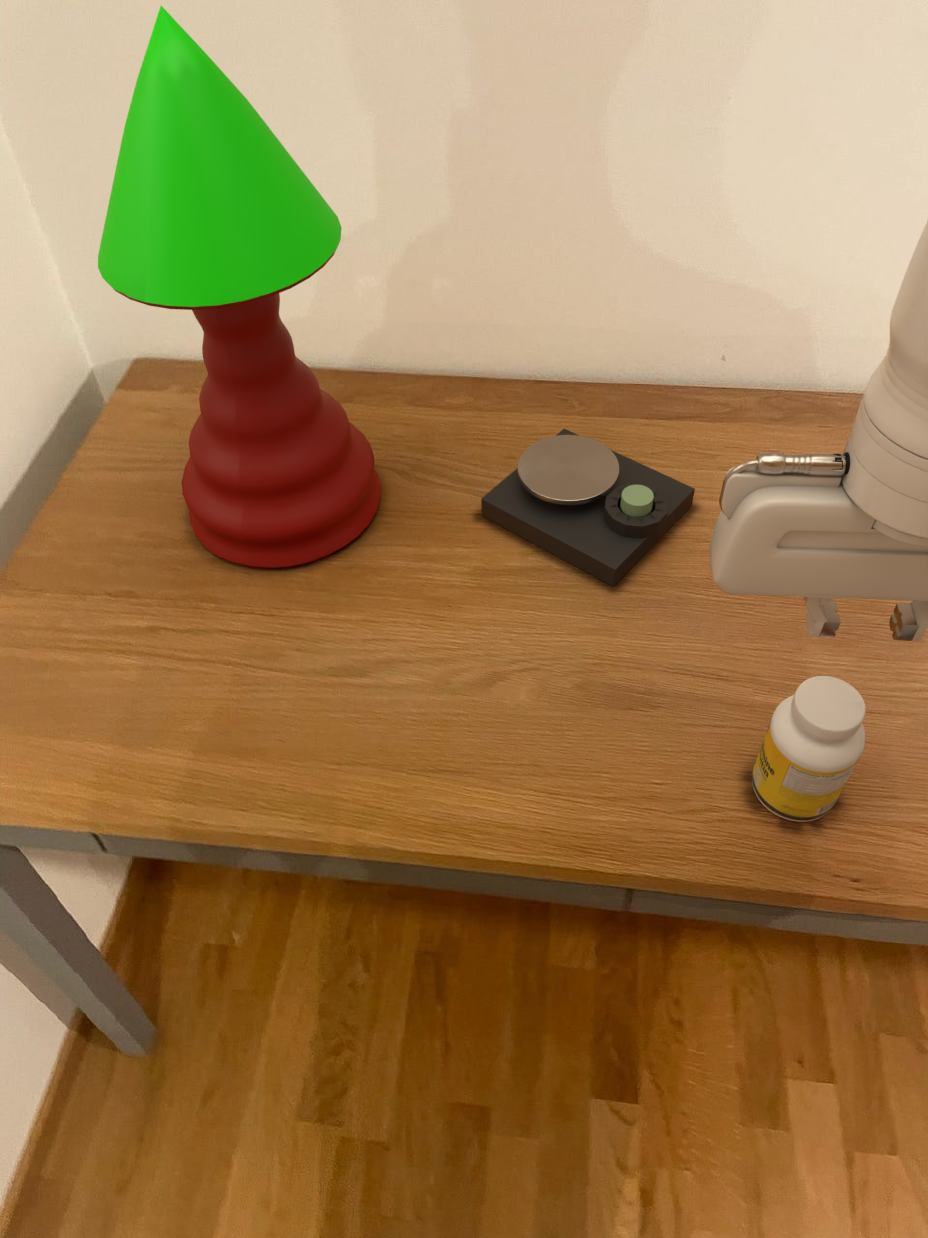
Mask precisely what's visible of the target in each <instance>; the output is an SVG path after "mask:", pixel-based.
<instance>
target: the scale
mask: <svg viewBox="0 0 928 1238" xmlns="http://www.w3.org/2000/svg"><path fill="white" fill-rule="evenodd" d="M558 435H577V436H581V435H580V434H577V433H576V432H573V431H571V430H569V429H567V428H562V430H560V431H559V432H558V433H557V434H556V435H555V436H558ZM610 450H611V451H612V452H613V453H614V455H615V456H616V458H617V460H618V463H619V477H618V480H617V483H616V484H615V486H614V487H613V489H612V490H611V491H610V492H609V493H607V494H606V495H605V496H603V497H601V498H599V499H597V500H595V501H592V502H589V503H584V504H578V505H561V504H554V503H550V502H547V501H544V500H541V499H539V498H537V497H535V496H534V495H532V494H531V493H529V492H528V491H527V490H526V489H525V488H524V487H523V485H522V484H521V482H520V480H519V477H518V467H516V469H514V470H513V471H512V472H511V473H510V474H508V475H507V476H506V477H505V478H504V479H503V480H501V481H500V482H499V483H497V485H495V486H494V487H492V489H490V490H489V491H488V492H487V493H486V494H485V495H483V496H482V497H481V498H480V502H481V517H483V518H485V519H487V520H489V521H490V522H492V523H494V524H496V525H497V526H500V527H501V528H503V529H505V530H507V531H508V532H510V533H512V534H514V535H516V536H518V537H520V538H522V539H524V540H525V541H527V542H529V543H531V544H533V545H535V546H537V547H538V548H541V549H543V550H544V551H546V552H548V553H550V554H551V555H553V556H555V557H557V558H559V559H560V560H563V561H564V562H566V563H568V564H570V565H572V566H573V567H576V568H577V569H580V570H581V571H583V572H585V573H587V574H589V575H590V576H591V577H595V579H598V580H600V581H602V582H603V583H605V584H607V585H609V586H611V587H615V586H617V584H619V582H620V581H621V580H622V579H623V578H624V577H625V576H626V575H627V574H628V573H629V572H630V571H631V570H632V568H634V567H635V565H636V564H638V562H639V561H641V559H642V558H643V557H645V555H646V554H647V553H648V552H649V551H650V550H651V549H652V548H653V547H654V546H655V545H656V544H657V543H658V542H659V541H660V540H661V539H662V538H663V536H665V535H666V534H667V532H669V530H671V529H672V527H673V526H674V525H675V524H676V523H677V522H678V521H679V520H680V519H681V518H683V516H684V515H685V514H686V513H687V512H688V511H689V510H690V509H691V508H692V506H693V501H694V498H695V497H694V496H695V493H696V492H695V491H696V488H694V487H693V486H690V485H688V484H686V483H684V482H682V481H679V480H677V479H676V478H673V477H671V476H668V475H666V474H665V473H662V472H660V471H657V470H655V469H653V468H651V467H649V466H646V465H645V464H643V463H641V462H638V461H636V460H634V459H632V458H629V457H627V456H626V455H623V454H621V453H618V452H616V451H614V450H612V449H610ZM630 485H643V486H646V487H648V488H649V489H650V490H651V491H652V492H653V495H654V498H653V505H652V510H651V512H650V513H649V514H648V515H646V516H644V517H631V516H628V515H626V514H625V513H624V512H623V511H622V510H621V507H620V504H621V495H622V491H623V490H624V489H625V488H626V487H628V486H630Z"/></svg>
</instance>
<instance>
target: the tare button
mask: <svg viewBox="0 0 928 1238" xmlns="http://www.w3.org/2000/svg"><path fill="white" fill-rule="evenodd" d="M653 498H654V495H653V492H652V491H651V490H650V489H649V488H648V487H646V486H643V485H630V486H628V487H626V488H625V489H624V490H623V491H622V495H621V504H620V507H621V510H622V511H623V512H624V513H625V514H626V515H628V516H631V517H644V516H646V515H648V514H649V513H650V512H651V510H652V505H653Z"/></svg>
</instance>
